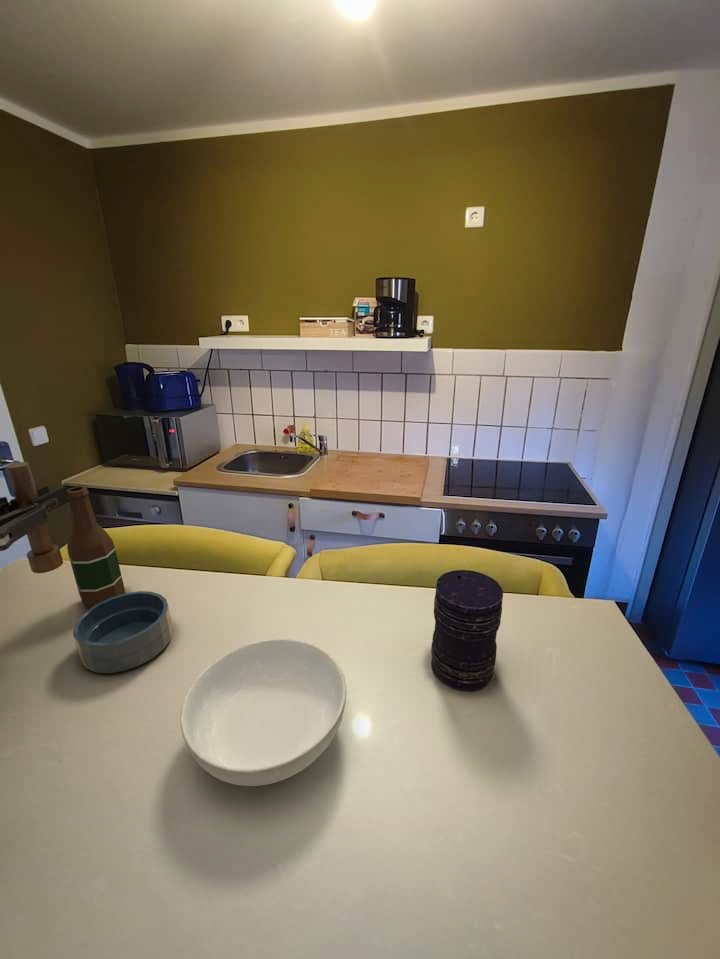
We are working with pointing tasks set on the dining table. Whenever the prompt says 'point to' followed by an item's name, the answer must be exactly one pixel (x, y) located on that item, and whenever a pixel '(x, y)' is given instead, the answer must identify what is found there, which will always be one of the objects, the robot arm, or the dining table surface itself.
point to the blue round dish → (123, 631)
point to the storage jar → (465, 629)
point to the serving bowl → (263, 711)
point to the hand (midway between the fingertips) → (56, 493)
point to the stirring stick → (42, 549)
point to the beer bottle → (92, 553)
